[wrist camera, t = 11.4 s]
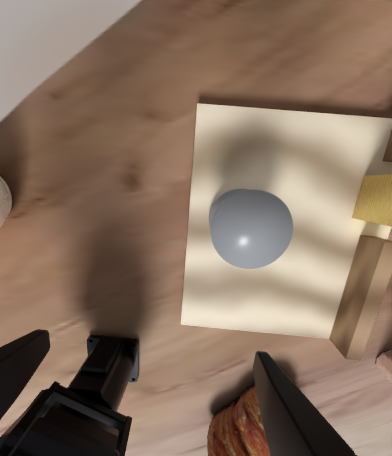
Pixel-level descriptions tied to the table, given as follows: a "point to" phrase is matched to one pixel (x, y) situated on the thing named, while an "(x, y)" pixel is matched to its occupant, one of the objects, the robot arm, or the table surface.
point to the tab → (375, 200)
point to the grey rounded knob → (250, 227)
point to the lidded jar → (4, 201)
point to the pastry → (238, 428)
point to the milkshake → (385, 364)
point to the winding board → (302, 224)
